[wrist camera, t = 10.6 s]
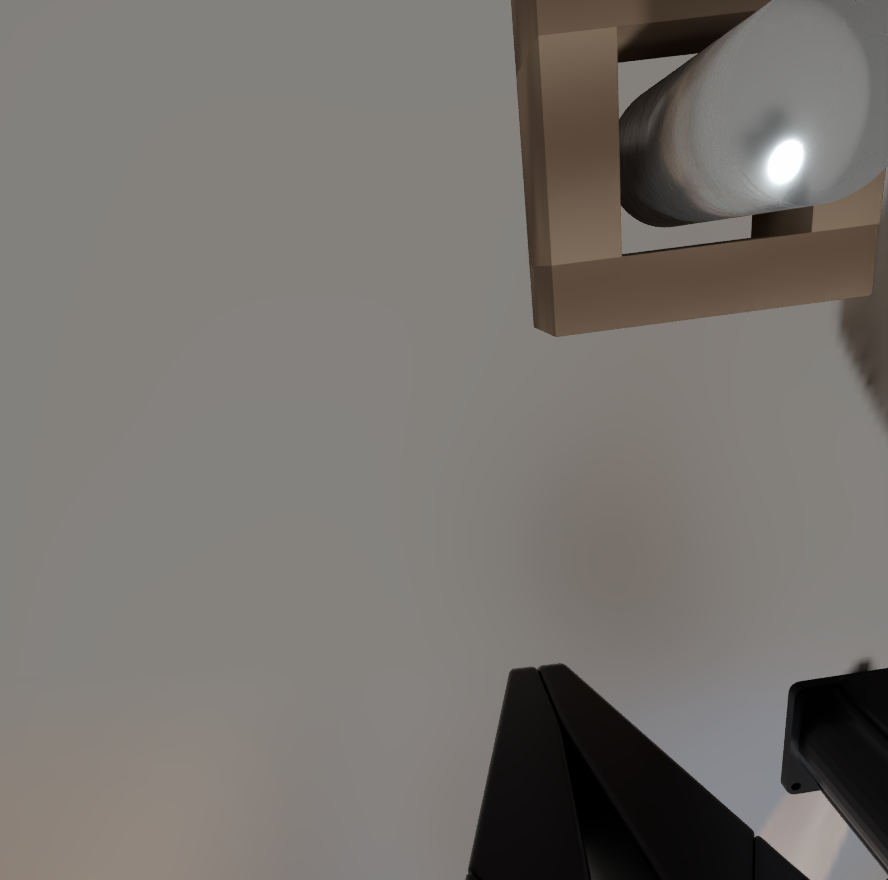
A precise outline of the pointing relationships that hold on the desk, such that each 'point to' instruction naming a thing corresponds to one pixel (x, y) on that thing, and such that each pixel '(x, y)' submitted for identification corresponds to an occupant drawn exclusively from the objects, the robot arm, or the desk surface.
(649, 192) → the metal cylinder
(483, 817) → the robot arm
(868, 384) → the desk surface
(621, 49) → the frame
